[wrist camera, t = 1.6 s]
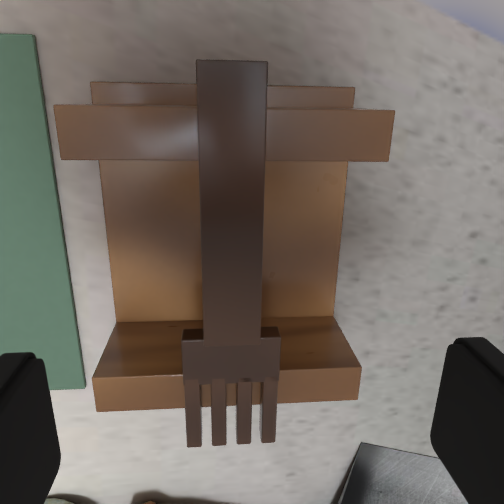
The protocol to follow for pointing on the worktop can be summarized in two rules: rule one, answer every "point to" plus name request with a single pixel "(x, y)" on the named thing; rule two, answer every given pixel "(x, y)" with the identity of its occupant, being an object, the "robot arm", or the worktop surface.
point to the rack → (189, 235)
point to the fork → (231, 255)
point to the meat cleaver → (397, 479)
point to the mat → (32, 226)
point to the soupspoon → (56, 501)
